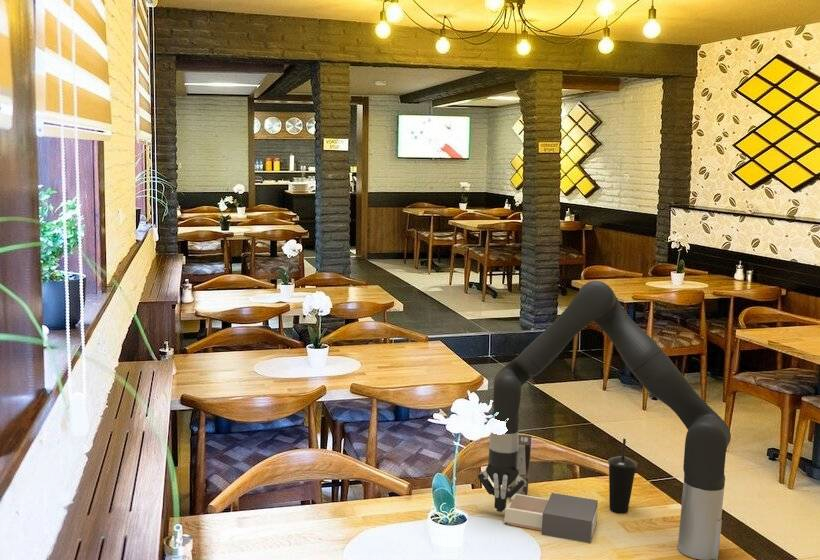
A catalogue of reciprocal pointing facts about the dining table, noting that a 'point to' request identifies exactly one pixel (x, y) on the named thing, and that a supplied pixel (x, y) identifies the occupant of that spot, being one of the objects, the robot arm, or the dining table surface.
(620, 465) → the drinking cup
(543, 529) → the sleeve
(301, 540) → the dining table surface
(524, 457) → the coffee box
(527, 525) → the sliding drawer box
